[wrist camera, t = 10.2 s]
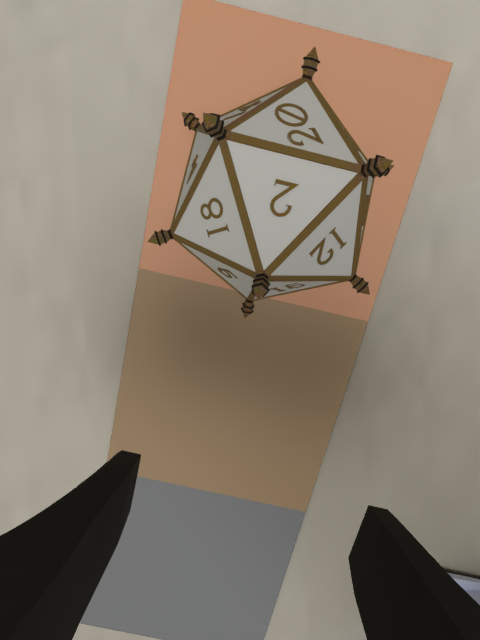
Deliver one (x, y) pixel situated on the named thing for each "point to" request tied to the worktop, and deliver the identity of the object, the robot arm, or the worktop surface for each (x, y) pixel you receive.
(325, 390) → the tricolour rectangular mat
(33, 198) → the worktop surface
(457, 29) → the worktop surface
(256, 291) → the game die
